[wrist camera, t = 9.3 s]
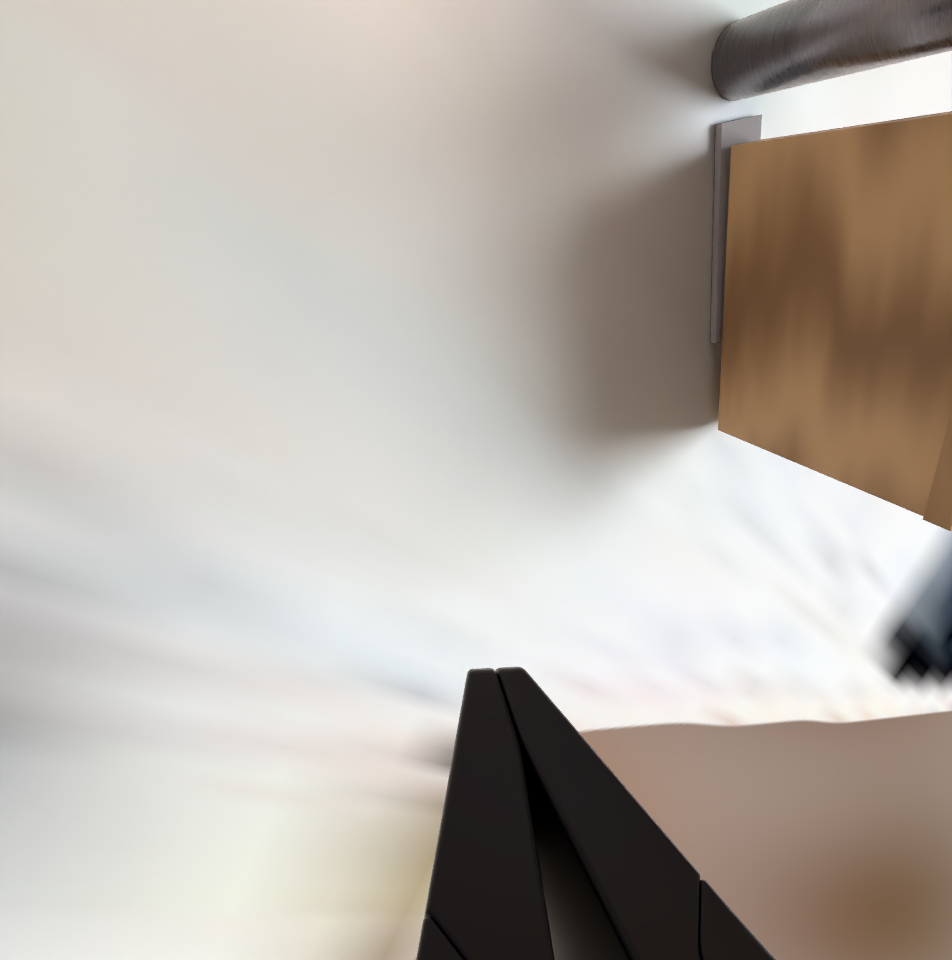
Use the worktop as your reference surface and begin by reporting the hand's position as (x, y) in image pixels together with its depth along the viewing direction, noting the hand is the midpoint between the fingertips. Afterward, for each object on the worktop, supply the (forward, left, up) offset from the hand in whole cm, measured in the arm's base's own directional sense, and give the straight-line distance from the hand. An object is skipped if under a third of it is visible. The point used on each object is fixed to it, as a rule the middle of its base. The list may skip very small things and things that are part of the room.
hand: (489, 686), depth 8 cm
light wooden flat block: (+8, -12, -10) cm, 18 cm away
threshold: (+10, -11, -10) cm, 18 cm away
